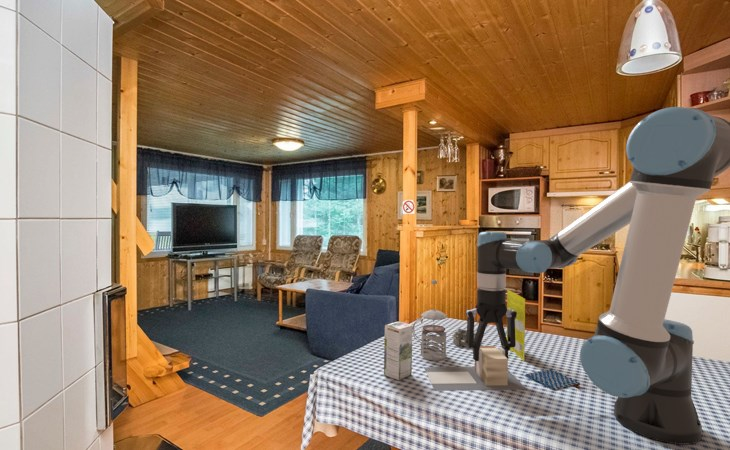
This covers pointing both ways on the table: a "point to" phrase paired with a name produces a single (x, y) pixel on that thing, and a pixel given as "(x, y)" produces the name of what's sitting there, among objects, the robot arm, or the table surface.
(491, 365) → the maple block
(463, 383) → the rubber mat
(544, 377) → the woven mat
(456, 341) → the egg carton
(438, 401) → the table surface
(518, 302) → the food package
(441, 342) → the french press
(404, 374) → the syrup box
